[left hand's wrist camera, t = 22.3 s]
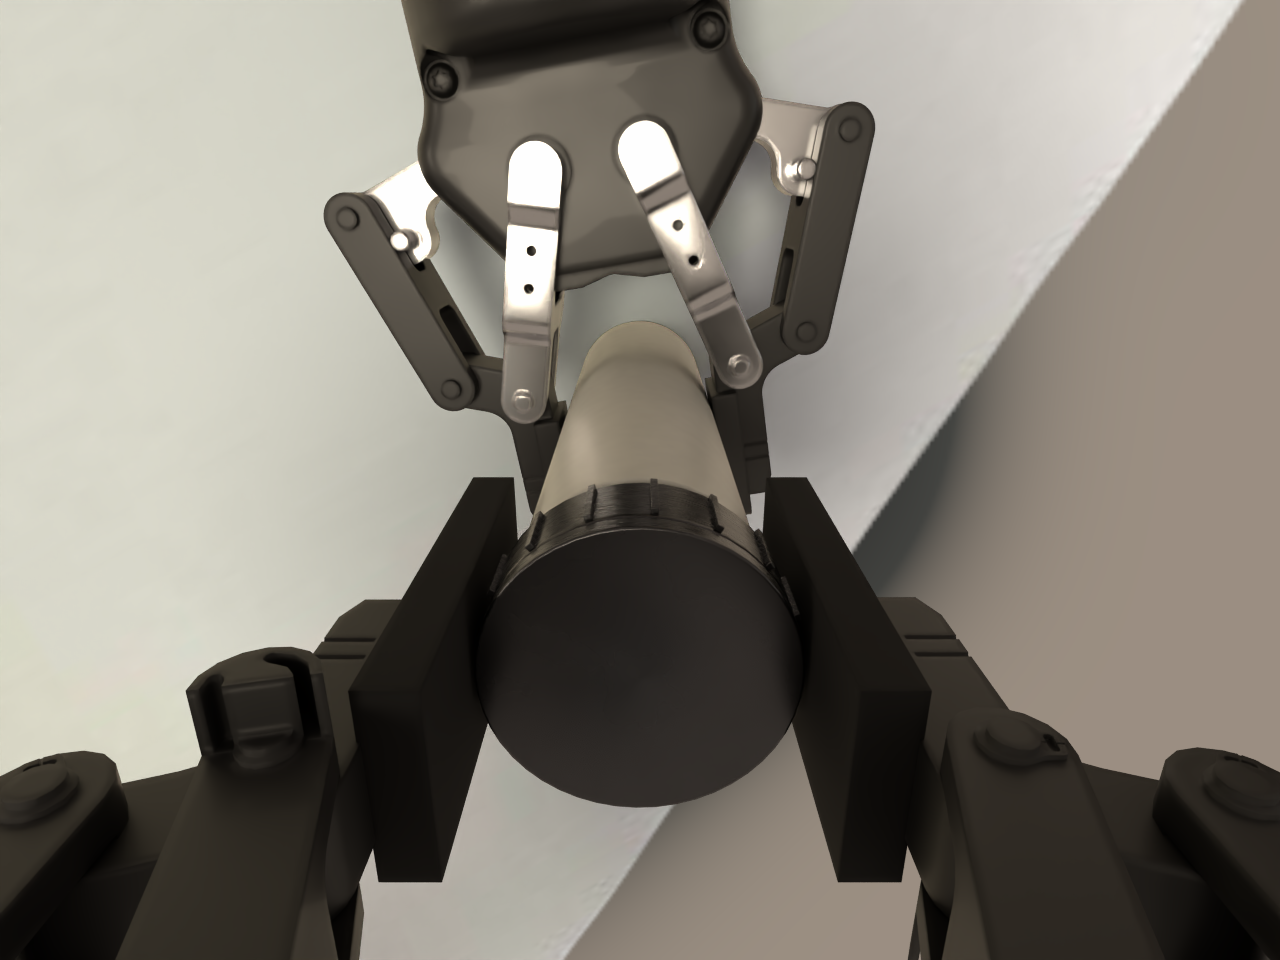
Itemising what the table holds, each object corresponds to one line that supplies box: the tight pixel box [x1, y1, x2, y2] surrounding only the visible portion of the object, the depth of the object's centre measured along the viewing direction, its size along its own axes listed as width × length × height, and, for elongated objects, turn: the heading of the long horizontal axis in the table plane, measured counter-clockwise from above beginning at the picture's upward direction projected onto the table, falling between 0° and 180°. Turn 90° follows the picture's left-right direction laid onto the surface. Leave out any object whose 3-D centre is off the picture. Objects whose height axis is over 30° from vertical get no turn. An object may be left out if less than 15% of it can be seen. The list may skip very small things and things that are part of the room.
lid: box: [474, 478, 805, 807], centre depth 11 cm, size 5×5×2 cm
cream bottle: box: [530, 321, 749, 526], centre depth 19 cm, size 4×4×17 cm
